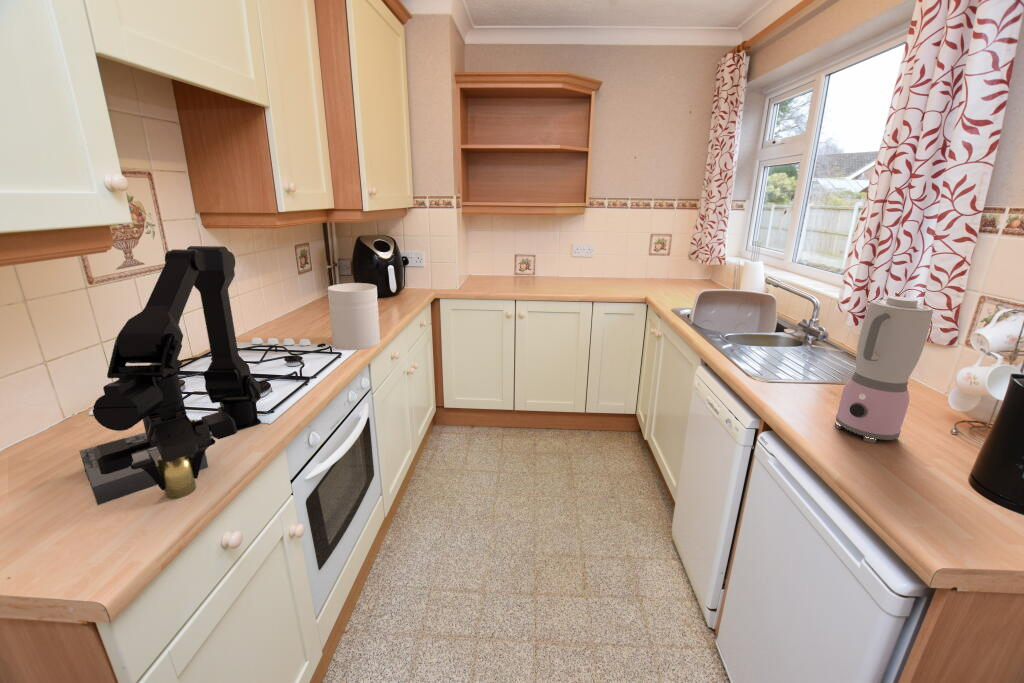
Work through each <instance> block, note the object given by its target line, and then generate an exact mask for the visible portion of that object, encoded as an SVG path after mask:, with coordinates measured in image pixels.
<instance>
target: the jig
mask: <svg viewBox="0 0 1024 683" xmlns="http://www.w3.org/2000/svg"><path fill="white" fill-rule="evenodd" d="M123 438H124V439H125V441H126V443H127V444H128V445H129V444H133V443H136V442H140V441H143V440H147V436H146V432H142V433H138V434H136V435H135V434H134V435H132V436H128V437H123ZM96 446H97V445H96ZM96 446H95V445H94V446H91V447H89V448H84V449H81V450H79V453H80V458H81V461H82V464H83V468H84V470H85V475H86V476H87V480H88V482H89V486H90V487H91V491H92V494H93V496H94V498H95V502H96V505H97V506H100V505H103V504H106V503H108V502H111V501H114V500H117V499H120V498H122V497H126V496H128V495H131V494H135V493H137V492H140V491H143V490H146V489H149V488H152V487H155V486H158V485H157V483H156V482H155V481H154V480H153V478H152V477H151V476H150V475H149V474H148V473H147V472H146V471H144V470H143V469H141V468H139V469H131V467H130V466H129V467H128V468H126V469H122V470H119V471H116V472H113V473H110V474H101V472H100V470H99V467H98V465H97V462H96V459H95V455H94V449H95V448H96ZM150 454H151V456H152V458H153V459H154V461H155V464H156V467H157V469H158V471H159V473H160V469H159V465H158V460H157V459H158V457H159V456H160V453H159V451H158V449H155V450H151V451H150ZM208 468H209V463H208V460H207V454H206V452H205V453H204V455H203V458H202V461H201V466H200V470H199V471H201V470H204V469H208ZM160 476H161V473H160Z"/></svg>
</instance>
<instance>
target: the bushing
mask: <svg viewBox="0 0 1024 683" xmlns="http://www.w3.org/2000/svg"><path fill="white" fill-rule="evenodd" d="M157 460H158V465H159V469H160V473H161V478H162V480H163V483H164V487H165V490H163V491H164V494H165V497H166V498H167V499H170V500H171V499H172V500H177V499H180V498H185V497H187V496H189V495H191V494H192V493H193V492H195V491H196V490H197V485H196V479H195V478H194V473H193V468H192V464H191V459H190V455H187V456H184V457H180V458H177V459H176V460H174V461H171V462H165V461H163V460H162V458H161V455H160V456H159V457H158V459H157Z"/></svg>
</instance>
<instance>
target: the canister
mask: <svg viewBox="0 0 1024 683" xmlns="http://www.w3.org/2000/svg"><path fill="white" fill-rule="evenodd" d="M327 296H328V302H329V303H328V309H329V317H330V330H331V337H332V338H331V339H332V346H333V347H334V348H335V349H340V350H347V351H357V350H365V349H369V348H374V347H376V346H378V345H380V343H381V336H380V335H381V332H380V315H379V303H378V286H377V285H376V284H372V283H368V282H367V283H363V282H350V283H347V282H346V283H345V282H344V283H338V284H332V285H329V286H328V287H327Z"/></svg>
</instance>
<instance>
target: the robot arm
mask: <svg viewBox="0 0 1024 683" xmlns="http://www.w3.org/2000/svg"><path fill="white" fill-rule="evenodd" d="M164 262H165V263H164V265H163V268H162V270H161V271H160V274H159V275H158V278H157V281H156V282H155V285H154V287H153V289H152V291H151V293H150V296H149V298H148V300H147V302H146V304H145V306H144V308H143V309H142V311H140V312H139V313H137V314H135V315H134V316H132V317H131V318H129V319H128V320H127V321H126V322H125V324H124V325H123V326H122V328H121V329H120V331H119V332H118V334H117V336H116V338H115V340H114V344H113V349H112V353H111V358H110V360H109V361H110V362H109V366H108V370H107V373H106V374H107V376H106V377H107V378H108V379H117V380H115V381H113V382H109V383H107V384H106V385H103V393H104V394H103V395H101V396H100V397H98V398H97V399H96V400H95V403H94V404H93V409H92V413H93V414H92V415H93V417H94V419H95V420H96V421H97V423H98V424H100V425H101V426H102V427H104V428H106V429H108V430H112V431H117V432H118V431H119V432H121V431H126V430H129V429H131V428H133V427H134V426H135V425H137V424H138V423H140V422H141V421H142V423H143V426H144V432H145V433H146V436H147V440H143V441H140V442H136V443H133V444H129V445H128V444H127V443H126V441H125V439H124V438H125V437H123V438H120V439H117V440H112V441H109V442H106V443H102V444H101V443H100V444H98V445H96V448H95V449H94V455H95V459H96V462H97V465H98V467H99V470H100V472H101V474H110V473H113V472H116V471H119V470H122V469H126V468H128V467H129V466H130V467H131V469H139V468H141V469H143V470H144V471H146V472H147V473H148V474H149V475H150V476H151V477H152V478H153V480H154V481H155V482H156V483H157V485H156V486H158V488H160V490H161V491H164V490H165V487H164V483H163V480H162V478H161V476H160V473H159V471H158V469H157V467H156V464H155V461H154V459H153V458H152V456H151V454H150V451H151V450H155V449H158V451H159V453H160V455H161V458H162V460H163V461H165V462H171V461H174V460H176V459H177V458H180V457H184V456H187V455H190V459H191V464H192V468H193V473H194V478H195V480H196V479H198V477H199V473H200V471H201V470H200V466H201V461H202V458H203V455H204V453H206V450H207V449H208V448H209V447H211V446H213V445H215V444H216V440H215V439H217V440H221V439H223V438H224V439H225V438H228V437H231V436H235V435H236V434H237V433H238V431H239V430H243V429H246V428H250V427H252V426H256V425H260V424H262V420H261V419H260V418H259V416H258V412H257V411H258V409H257V405H256V400H259V399H261V396H262V395H261V393H262V392H261V391H262V386H261V383H260V382H259V381H258V380H257V379H256V378H255V377H254V376H253V375H252V374H251V369H250V366H249V364H248V362H246V361H245V360H244V359H243V358H242V357H241V356H240V355H239V351H238V350H239V349H238V344H237V336H236V332H235V325H234V318H233V313H232V307H231V301H230V294H229V288H230V286H231V284H232V282H233V280H234V278H235V276H236V275H235V274H236V273H235V267H236V257H235V254H234V253H233V252H231V251H230V250H228V248H227V247H226V246H216V245H213V246H212V245H211V246H210V245H203V246H201V245H190V246H188V247H187V248H186V249H182V248H181V249H180V248H179V249H177V248H175V249H171V250H168V251H166V252H165V255H164ZM193 287H195V289H196V290H197V291H198V292H199V295H200V299H201V305H202V310H203V311H202V312H203V317H204V322H205V328H206V333H207V338H208V345H209V350H210V355H211V362H210V364H209V366H208V368H207V370H204V373H203V378H204V387H205V388H204V389H205V391H206V393H207V395H208V397H209V399H210V401H211V404H217V403H219V407H217V412H215V413H210V414H208V415H203V416H201V419H198V420H196V421H195V420H194V419H193V420H191V419H190V417H189V416H188V414H187V411H186V408H185V407H186V406H185V403H184V402H185V400H184V398H183V392H182V388H181V387H182V386H181V382H180V379H179V378H180V377H179V373H178V368H179V367H181V366H183V361H182V360H180V359H178V358H179V355H180V354H181V351H182V348H183V345H182V343H183V340H184V339H183V338H184V334H183V332H182V329H181V328H180V325H179V324H180V322H181V318H182V316H183V314H184V311H185V308H186V306H187V303H188V301H189V298H190V296H191V293H192V290H193ZM127 364H136V365H127ZM137 364H138V365H137ZM139 364H143V365H139Z"/></svg>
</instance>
